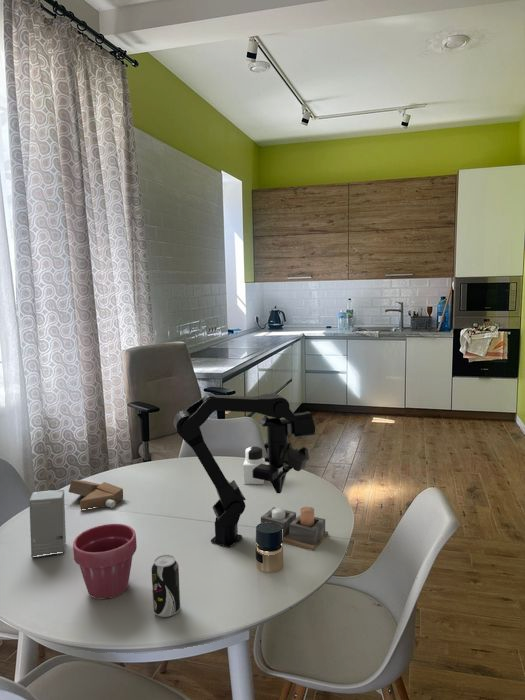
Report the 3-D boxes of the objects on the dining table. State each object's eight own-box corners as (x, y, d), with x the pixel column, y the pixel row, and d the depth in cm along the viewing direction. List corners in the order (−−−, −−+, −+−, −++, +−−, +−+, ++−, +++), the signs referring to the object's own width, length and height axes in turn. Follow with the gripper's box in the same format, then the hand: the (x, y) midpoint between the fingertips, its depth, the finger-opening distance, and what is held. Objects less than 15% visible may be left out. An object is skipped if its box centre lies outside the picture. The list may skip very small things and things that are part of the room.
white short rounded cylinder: (281, 532, 146) (281, 515, 145) (269, 529, 147) (269, 512, 147) (287, 526, 149) (287, 509, 148) (276, 523, 151) (275, 507, 150)
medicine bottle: (265, 476, 189) (264, 445, 187) (263, 484, 182) (262, 451, 180) (245, 476, 190) (245, 444, 188) (243, 484, 183) (242, 451, 181)
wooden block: (100, 524, 162) (57, 507, 169) (128, 502, 173) (87, 487, 180) (100, 504, 159) (56, 487, 166) (128, 483, 171) (86, 468, 178)
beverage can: (148, 611, 114) (145, 560, 112) (170, 599, 118) (168, 550, 116) (163, 623, 110) (160, 570, 108) (185, 610, 114) (183, 559, 112)
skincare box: (31, 559, 136) (26, 501, 134) (35, 546, 143) (30, 491, 141) (65, 554, 138) (61, 497, 136) (68, 541, 145) (64, 487, 143)
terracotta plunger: (310, 531, 141) (310, 514, 140) (298, 528, 143) (297, 511, 142) (316, 525, 144) (316, 508, 143) (304, 522, 146) (304, 505, 145)
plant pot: (75, 578, 127) (72, 528, 125) (134, 566, 132) (132, 518, 130) (77, 613, 114) (73, 558, 112) (142, 598, 119) (139, 545, 117)
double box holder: (313, 550, 138) (313, 533, 137) (257, 535, 146) (257, 519, 145) (328, 534, 146) (328, 517, 145) (274, 521, 155) (274, 505, 154)
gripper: (287, 454, 133) (289, 512, 135) (318, 434, 148) (318, 486, 151) (250, 447, 138) (252, 503, 140) (283, 429, 154) (284, 479, 156)
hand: (278, 492), depth 147 cm, fingers closed
